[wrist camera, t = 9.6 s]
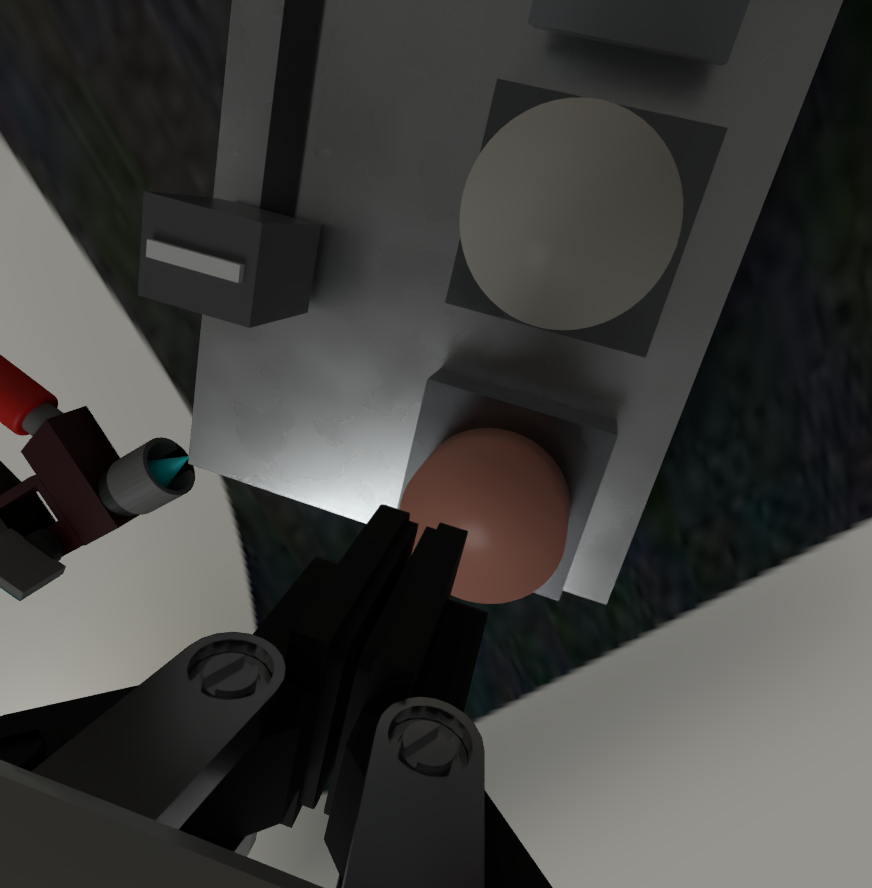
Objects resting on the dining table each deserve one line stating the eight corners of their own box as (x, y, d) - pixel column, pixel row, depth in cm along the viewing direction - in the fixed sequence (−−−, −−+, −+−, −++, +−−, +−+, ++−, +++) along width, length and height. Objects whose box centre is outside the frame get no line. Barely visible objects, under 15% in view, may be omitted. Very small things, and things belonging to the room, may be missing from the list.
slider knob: (212, 285, 18) (132, 295, 15) (221, 198, 17) (137, 190, 14) (307, 312, 18) (245, 329, 15) (321, 224, 17) (257, 222, 14)
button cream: (470, 287, 16) (438, 300, 13) (514, 109, 14) (489, 76, 11) (631, 330, 15) (637, 354, 12) (693, 149, 14) (719, 124, 11)
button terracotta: (419, 517, 19) (384, 572, 16) (450, 392, 18) (418, 426, 15) (549, 561, 18) (538, 626, 15) (592, 435, 17) (590, 478, 14)
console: (250, 429, 25) (158, 480, 20) (350, -333, 17) (240, -580, 12) (605, 544, 22) (606, 634, 17) (911, -269, 15) (1074, -535, 10)
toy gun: (230, 481, 26) (153, 532, 22) (48, 576, 30) (-48, 635, 26) (97, 266, 25) (-16, 274, 20) (-75, 399, 29) (-199, 429, 24)
